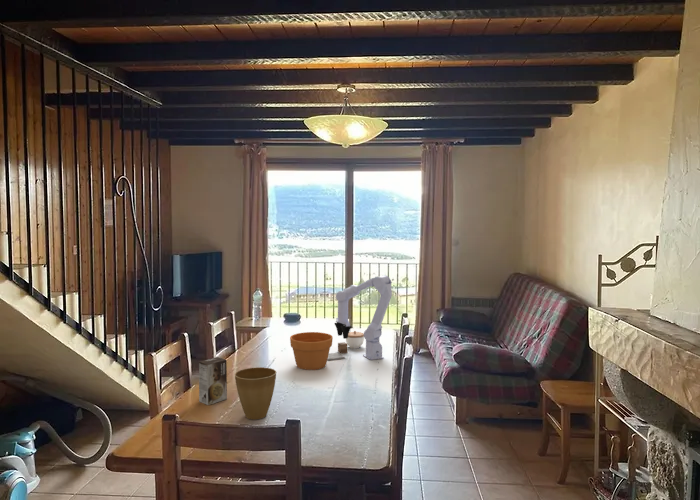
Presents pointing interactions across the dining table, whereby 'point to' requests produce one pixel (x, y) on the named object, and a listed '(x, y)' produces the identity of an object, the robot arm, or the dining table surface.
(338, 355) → the slate tile
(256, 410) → the plant pot
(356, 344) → the lidded jar
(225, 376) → the coffee box
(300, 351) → the flower pot
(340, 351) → the walnut block
